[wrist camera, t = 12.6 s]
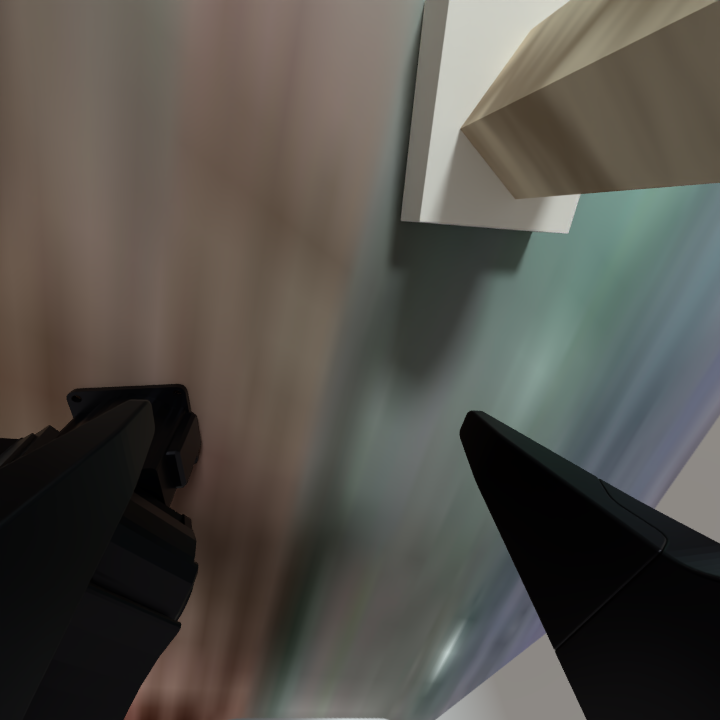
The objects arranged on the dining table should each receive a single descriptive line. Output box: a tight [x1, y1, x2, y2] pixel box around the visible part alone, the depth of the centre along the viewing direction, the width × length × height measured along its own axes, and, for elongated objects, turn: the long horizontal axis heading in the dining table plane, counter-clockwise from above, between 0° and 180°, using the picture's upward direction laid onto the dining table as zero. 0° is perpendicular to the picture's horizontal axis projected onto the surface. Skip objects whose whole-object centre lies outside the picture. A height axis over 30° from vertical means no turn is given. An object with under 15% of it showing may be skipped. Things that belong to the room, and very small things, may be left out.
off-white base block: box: [401, 0, 580, 233], centre depth 17 cm, size 10×10×3 cm
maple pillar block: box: [460, 0, 720, 199], centre depth 11 cm, size 5×5×12 cm
